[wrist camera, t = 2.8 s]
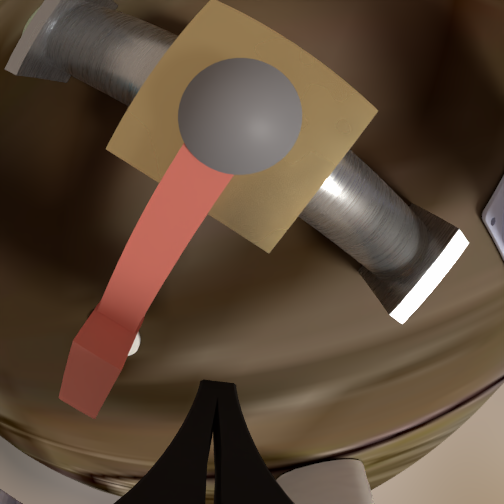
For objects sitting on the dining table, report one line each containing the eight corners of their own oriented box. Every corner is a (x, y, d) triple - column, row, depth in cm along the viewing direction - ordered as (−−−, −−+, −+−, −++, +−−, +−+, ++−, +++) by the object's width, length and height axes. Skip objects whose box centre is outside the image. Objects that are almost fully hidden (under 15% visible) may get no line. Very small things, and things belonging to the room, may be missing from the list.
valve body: (433, 211, 12) (480, 238, 9) (368, 293, 14) (398, 338, 11) (105, -10, 7) (69, -40, 4) (44, 84, 9) (-7, 79, 5)
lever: (227, 51, 6) (220, 13, 4) (313, 108, 7) (348, 97, 4) (71, 346, 10) (45, 389, 7) (125, 378, 11) (108, 426, 8)
